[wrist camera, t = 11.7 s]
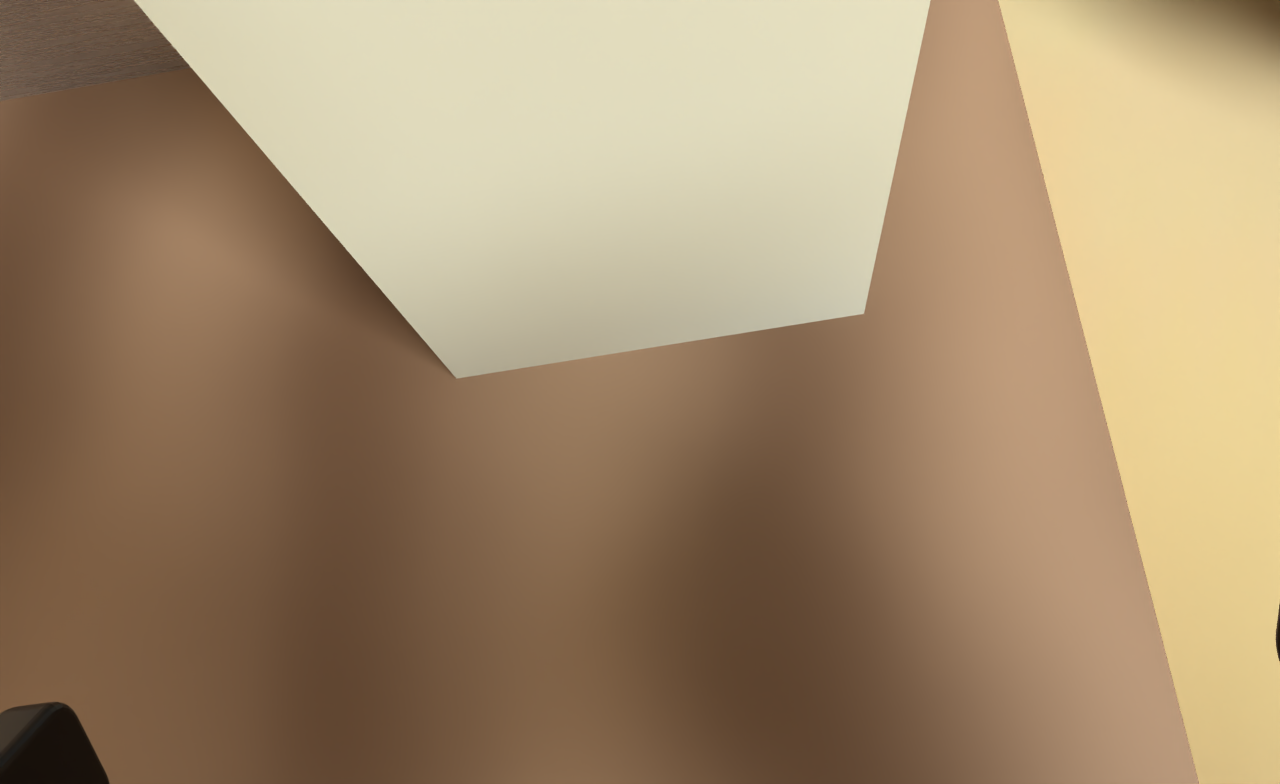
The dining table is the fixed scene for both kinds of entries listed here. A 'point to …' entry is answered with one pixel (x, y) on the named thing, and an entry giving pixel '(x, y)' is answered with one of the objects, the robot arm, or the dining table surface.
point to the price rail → (77, 45)
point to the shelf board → (558, 491)
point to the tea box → (577, 156)
